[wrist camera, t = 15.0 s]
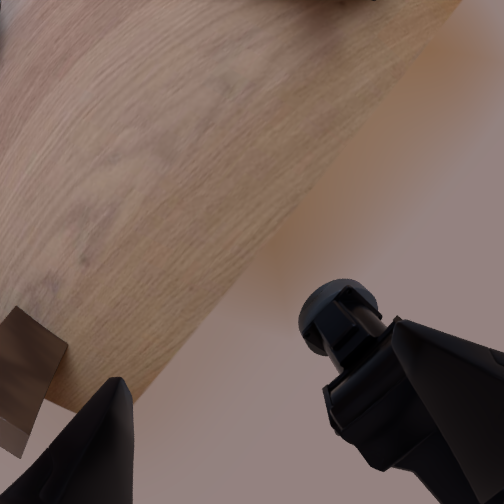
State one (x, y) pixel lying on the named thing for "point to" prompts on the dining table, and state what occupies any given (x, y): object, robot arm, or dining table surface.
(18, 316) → the brown rectangular block
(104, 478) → the robot arm
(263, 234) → the dining table surface
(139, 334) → the dining table surface
